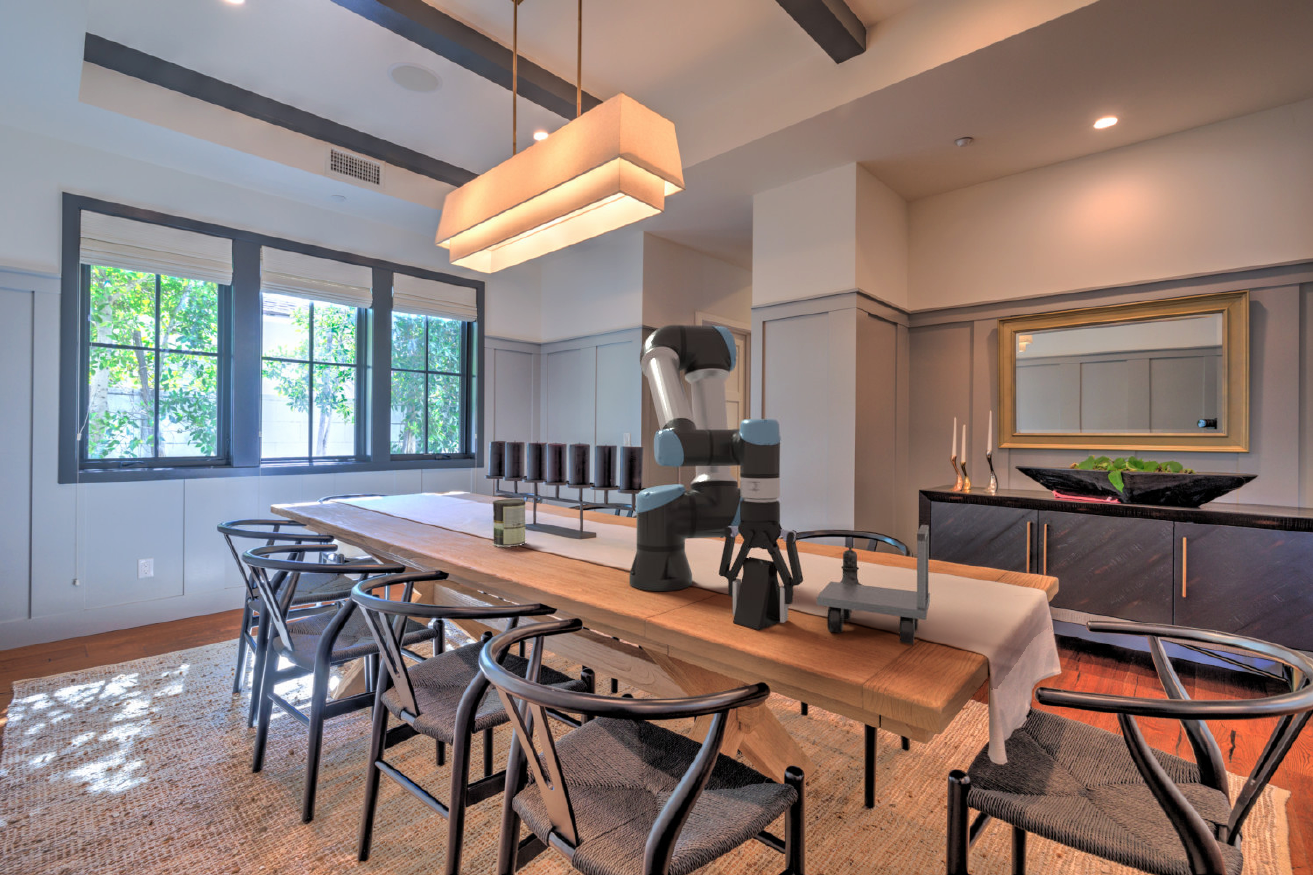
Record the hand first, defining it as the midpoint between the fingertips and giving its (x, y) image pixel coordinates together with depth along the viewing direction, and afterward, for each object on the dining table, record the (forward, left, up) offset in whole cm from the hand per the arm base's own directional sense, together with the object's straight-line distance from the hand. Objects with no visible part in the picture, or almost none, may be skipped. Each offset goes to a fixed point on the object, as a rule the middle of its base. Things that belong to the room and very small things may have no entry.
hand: (760, 616), depth 112 cm
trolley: (+20, +5, -1) cm, 21 cm away
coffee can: (-96, +36, -1) cm, 103 cm away
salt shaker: (+13, +21, -1) cm, 25 cm away
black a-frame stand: (0, 0, -1) cm, 1 cm away
